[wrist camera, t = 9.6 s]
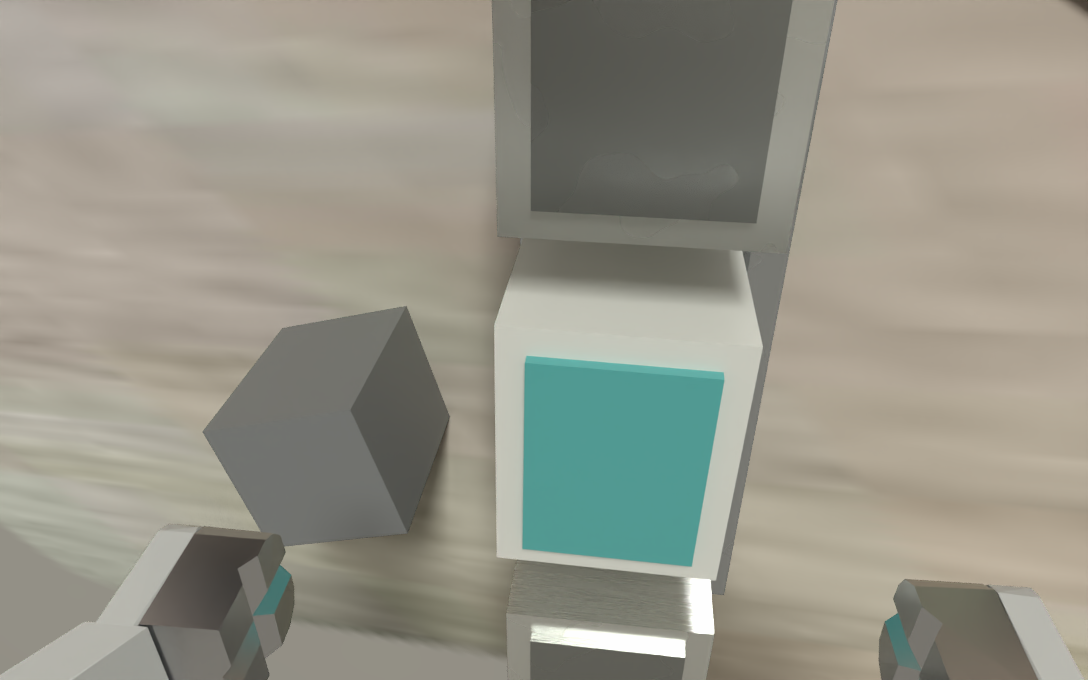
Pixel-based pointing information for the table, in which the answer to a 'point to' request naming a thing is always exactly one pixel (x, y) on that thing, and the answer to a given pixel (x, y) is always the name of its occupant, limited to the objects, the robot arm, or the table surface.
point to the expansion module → (622, 404)
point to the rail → (650, 238)
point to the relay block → (334, 429)
